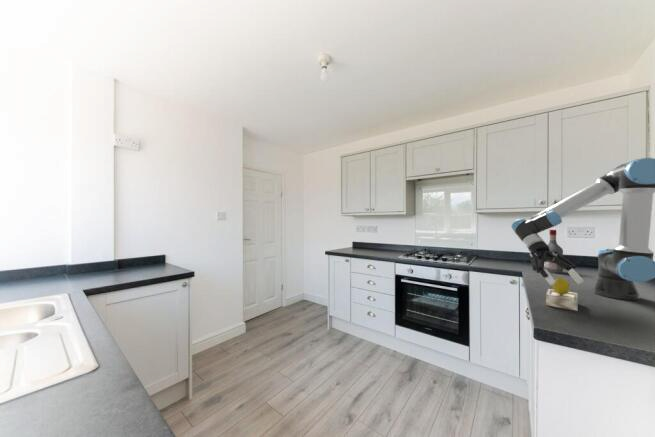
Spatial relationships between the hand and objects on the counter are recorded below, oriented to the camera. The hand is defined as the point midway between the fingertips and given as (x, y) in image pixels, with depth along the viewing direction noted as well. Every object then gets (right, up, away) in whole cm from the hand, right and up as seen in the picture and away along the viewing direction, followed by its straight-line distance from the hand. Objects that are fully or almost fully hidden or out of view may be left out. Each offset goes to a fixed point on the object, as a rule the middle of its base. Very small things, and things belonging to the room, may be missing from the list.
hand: (567, 283), depth 112 cm
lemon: (0, -6, +2) cm, 7 cm away
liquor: (+56, -10, +70) cm, 91 cm away
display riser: (0, -10, +2) cm, 10 cm away
